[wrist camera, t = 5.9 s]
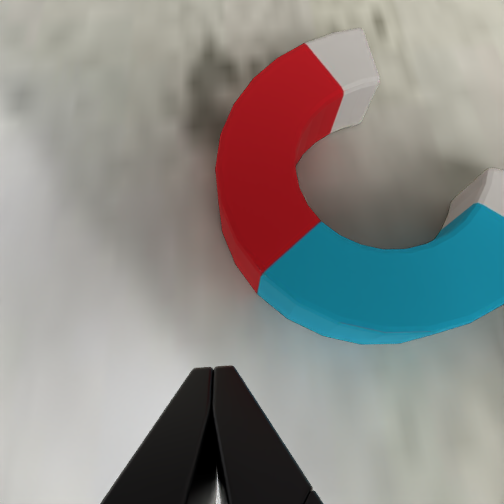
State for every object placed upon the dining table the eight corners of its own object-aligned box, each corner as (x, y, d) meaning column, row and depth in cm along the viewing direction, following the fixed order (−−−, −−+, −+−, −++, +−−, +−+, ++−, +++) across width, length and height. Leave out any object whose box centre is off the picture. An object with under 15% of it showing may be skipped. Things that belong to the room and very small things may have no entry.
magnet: (375, 420, 14) (538, 236, 16) (407, 426, 11) (596, 206, 14) (157, 190, 16) (327, 62, 19) (142, 151, 14) (341, 8, 16)
